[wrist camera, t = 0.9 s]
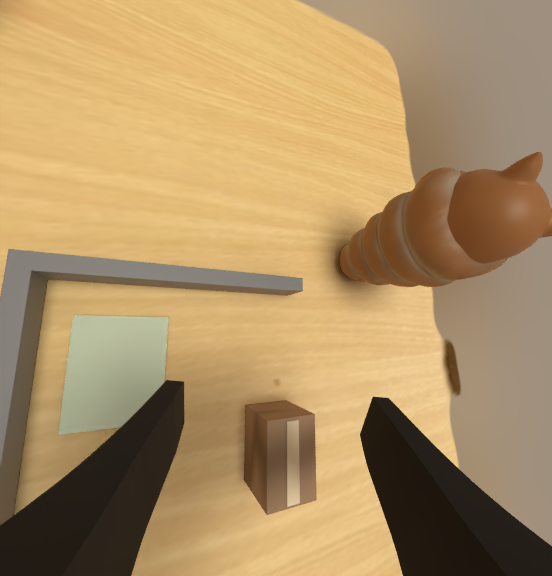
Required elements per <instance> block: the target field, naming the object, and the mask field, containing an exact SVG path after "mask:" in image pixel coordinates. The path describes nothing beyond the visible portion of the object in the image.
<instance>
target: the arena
mask: <svg viewBox="0 0 552 576" xmlns="http://www.w3.org/2000/svg"><path fill="white" fill-rule="evenodd" d="M48 279H52V280H66V281H81V282H96V283H111V284H126V285H141V286H156V287H171V288H185V289H200V290H215V291H230V292H245V293H260V294H275V295H291V294H294V293H298V292H301V291H303V286H302V278H295V277H285V276H275V275H265V274H255V273H245V272H235V271H225V270H215V269H205V268H195V267H185V266H175V265H165V264H155V263H144V262H134V261H124V260H114V259H104V258H94V257H84V256H74V255H64V254H54V253H44V252H34V251H24V250H14V249H9V250H8V256H7V262H6V267H5V273H4V279H3V285H2V291H1V296H0V525H1V524H3V523H4V522H5V521H7V520H8V519H10V518H11V517H12V516H13V514H14V507H15V500H16V494H17V487H18V480H19V473H20V466H21V459H22V452H23V445H24V438H25V431H26V424H27V418H28V411H29V404H30V397H31V390H32V383H33V376H34V369H35V362H36V355H37V349H38V342H39V335H40V328H41V321H42V314H43V307H44V300H45V293H46V286H47V280H48ZM168 321H169V317H134V316H94V315H73V321H72V329H71V336H70V344H69V352H68V360H67V368H66V376H65V384H64V392H63V400H62V408H61V416H60V424H59V432H58V435H62V434H71V433H79V432H87V431H95V430H103V429H111V428H119V427H122V426H123V425H124V424H125V423H126V422H127V421H128V420H129V419H130V418H131V417H132V416H133V415H134V414H135V413H136V412H137V411H138V410H139V409H140V408H141V407H142V406H143V405H144V404H145V403H146V402H147V400H148V399H149V398H150V397H151V396H152V395H153V394H154V393H155V392H156V391H157V390H158V389H159V388H160V386H161V385H162V384H163V383H164V381H165V366H166V351H167V336H168Z"/></svg>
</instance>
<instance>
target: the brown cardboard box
mask: <svg viewBox="0 0 552 576" xmlns="http://www.w3.org/2000/svg"><path fill="white" fill-rule="evenodd" d="M244 481H245V482H246V484H247V485H248V487H249V488H250V490H251V491H252V493H253V494H254V496H255V498H256V499H257V501H258V502H259V504H260V505H261V507H262V508H263V510H264V511H265V513H266V514H267V515H269V514H272V513H275V512H279V511H282V510H285V509H288V508H292V507H295V506H298V505H302V504H305V503H308V502H312V501H315V500H316V456H315V414H313V413H311V412H309V411H307V410H305V409H303V408H301V407H299V406H297V405H295V404H292V403H290V402H288V401H286V400H284V401H276V402H267V403H258V404H249V405H245V459H244Z"/></svg>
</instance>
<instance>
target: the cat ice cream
mask: <svg viewBox="0 0 552 576" xmlns="http://www.w3.org/2000/svg"><path fill="white" fill-rule="evenodd" d="M542 163H543V158H542V153H541V152H537V153H534V154H531V155H529V156H527V157H525V158H523V159H521V160H519V161H517V162H516V163H514V164H513V165H511V166H510V167H508V168H507V169H505V170H503V171H496V170H488V169H480V170H475V171H471V172H463V171H457V170H455V169H452V168H439V169H435V170H433V171H431V172H429V173H427V174H426V175H425V176H424V177H422V179H421V180H420V181H419V182H418V183H417V185H416V186H415V188H414V189H413V190H412V191H411V192H406V193H403V194H400V195H398V196H396V197H395V198H393V199H392V200H390V201H389V202H388V204H387V205H386V206H385V208H384V210H383V212H381V213H378V214H376V215H374V216H373V217H371V218H370V219H369V221H368V222H367V224H366V227H365V228H364V229H361V230H360V231H358V232H357V233H356V234H355V235H354V236H353V237H352V239H351V242H350V243H348V244H347V245H345V246H344V247H343V249H342V252H341V255H340V266H341V269H342V271H343V273H344V274H345V275H347V276H348V277H350V278H351V279H354V280H358V281H367V282H369V283H371V284H375V285H387V284H392V285H396V286H404V287H414V286H418V285H421V286H426V287H434V286H435V287H436V286H443V285H446V284H449V283H451V282H453V281H455V280H459V279H465V278H470V277H475V276H479V275H482V274H485V273H487V272H490V271H492V270H494V269H496V268H498V267H499V266H501V265H502V264H503V263H504V262H505V261H506V260H507V259H508V258H509V257H512V256H514V255H516V254H518V253H520V252H522V251H524V250H525V249H527V248H528V247H530V246H531V245H532V244H533V243H534V242H536V240H538V238H541V237H548V236H552V209H551V208H550V205H549V200H548V197H547V195H546V193H545V192H544V190H543V188H542V187H541V186H540V185H539V184H538V183H537V182H536V179H537V177H538V175H539V172H540V171H541V168H542Z"/></svg>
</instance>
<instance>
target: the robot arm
mask: <svg viewBox="0 0 552 576" xmlns="http://www.w3.org/2000/svg"><path fill="white" fill-rule="evenodd" d="M183 425H184V382H182V381H169V380H167V381H165V382H164V383H163V384H162V385H161V386H160V388H159V389H158V390H157V391H156V392H155V393H154V394H153V395H152V396H151V397H150V398H149V399H148V400H147V402H146V403H145V404H144V405H143V406H142V407H141V408H140V409H139V410H138V411H137V412H136V413H135V414H134V415H133V416H132V417H131V418H130V419H129V420H128V421H127V422H126V423H125V424H124V425H123V426H122V427H121V428H120V429H119V430H118V431H117V432H115V433H114V434H113V435H112V436H111V437H110V438H109V439H108V440H107V441H106V442H104V443H103V444H102V445H101V446H100V447H99V448H98V449H97V450H96V451H95V452H93V453H92V454H91V455H90V456H89V457H88V458H87V459H85V460H84V461H83V462H82V463H81V464H80V465H78V466H77V467H76V468H75V469H74V470H72V471H71V472H70V473H69V474H67V475H66V476H65V477H64V478H62V479H61V480H60V481H59V482H57V483H56V484H55V485H54V486H52V487H51V488H50V489H48V490H47V491H46V492H44V493H43V494H42V495H41V496H39V497H38V498H37V499H35V500H34V501H33V502H31V503H30V504H29V505H27V506H26V507H25V508H23V509H22V510H21V511H19V512H18V513H16V514H15V515H14V516H12V517H11V518H10V519H8V520H7V521H5V522H4V523H3V524H1V525H0V576H131V574H132V571H133V568H134V565H135V561H136V558H137V555H138V552H139V548H140V545H141V542H142V539H143V536H144V533H145V531H146V528H147V525H148V522H149V520H150V517H151V515H152V512H153V510H154V507H155V505H156V502H157V499H158V497H159V494H160V492H161V489H162V487H163V484H164V482H165V479H166V476H167V474H168V471H169V469H170V466H171V464H172V461H173V458H174V456H175V453H176V450H177V447H178V443H179V440H180V436H181V432H182V429H183ZM360 437H361V441H362V446H363V451H364V455H365V459H366V463H367V466H368V469H369V472H370V475H371V478H372V481H373V484H374V487H375V490H376V493H377V495H378V498H379V501H380V504H381V507H382V510H383V513H384V515H385V518H386V521H387V524H388V527H389V530H390V533H391V535H392V539H393V542H394V545H395V548H396V551H397V555H398V559H399V562H400V566H401V570H402V574H403V576H552V546H551V545H549V544H548V543H547V542H545V541H544V540H543V539H541V538H540V537H539V536H537V535H536V534H535V533H534V532H532V531H531V530H530V529H529V528H527V527H526V526H525V525H523V524H522V523H521V522H519V521H518V520H517V519H516V518H515V517H513V516H512V515H511V514H510V513H508V512H507V511H506V510H505V509H504V508H502V507H501V506H500V505H499V504H498V503H496V502H495V501H494V500H493V499H492V498H490V497H489V496H488V495H487V494H486V493H485V492H484V491H482V490H481V489H480V488H479V487H478V486H477V485H476V484H475V483H473V482H472V481H471V480H470V479H469V478H468V477H467V476H466V475H465V474H464V473H463V472H461V471H460V470H459V469H458V468H457V467H456V466H455V465H454V464H453V463H452V462H451V461H450V460H449V459H448V458H447V457H446V456H445V455H444V454H443V453H442V452H440V451H439V450H438V449H437V448H436V447H435V446H434V445H433V444H432V443H431V442H430V440H429V439H428V438H427V437H426V436H425V435H424V434H423V433H422V432H421V431H420V430H419V429H418V428H417V427H416V426H415V425H414V424H413V423H412V422H411V421H410V420H409V419H408V418H407V417H406V416H405V415H404V414H403V413H402V412H401V410H400V409H399V408H398V407H397V406H396V405H395V404H394V403H393V402H392V401H391V400H390V399H389V398H381V397H373V398H372V401H371V404H370V407H369V410H368V413H367V416H366V419H365V422H364V424H363V427H362V430H361V433H360Z"/></svg>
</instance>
